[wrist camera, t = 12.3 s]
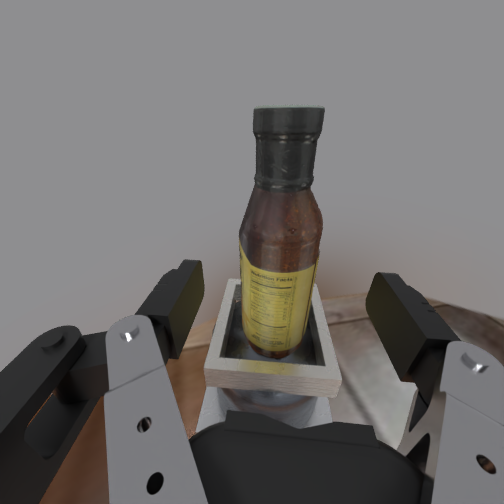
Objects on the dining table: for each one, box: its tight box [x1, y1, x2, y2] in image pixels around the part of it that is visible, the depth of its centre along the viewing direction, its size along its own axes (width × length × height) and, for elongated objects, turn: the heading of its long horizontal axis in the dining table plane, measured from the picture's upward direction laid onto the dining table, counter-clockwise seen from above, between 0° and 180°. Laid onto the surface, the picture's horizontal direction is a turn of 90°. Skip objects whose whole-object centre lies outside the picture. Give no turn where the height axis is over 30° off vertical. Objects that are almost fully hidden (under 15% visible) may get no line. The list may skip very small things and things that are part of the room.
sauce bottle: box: [239, 105, 325, 358], centre depth 18 cm, size 6×6×20 cm
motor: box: [196, 279, 342, 433], centre depth 25 cm, size 14×12×12 cm
